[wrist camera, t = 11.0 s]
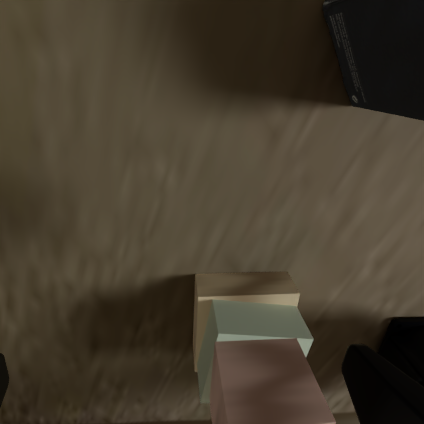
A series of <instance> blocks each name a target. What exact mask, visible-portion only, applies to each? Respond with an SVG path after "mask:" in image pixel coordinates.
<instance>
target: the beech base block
mask: <svg viewBox="0 0 424 424" xmlns="http://www.w3.org/2000/svg"><path fill="white" fill-rule="evenodd" d="M299 296H300V293H299V291H298V289H297V287H296V286H295V284H294V282H293V280H292V279H291V277H290V275H289V274H288V272H249V273H207V274H195V296H194V323H193V355H194V368H195V372H198V371H197V362H198V357H199V353H200V349H201V345H202V341H203V337H204V333H205V328H206V324H207V320H208V316H209V312H210V308H211V304H212V299H215V300H228V301H240V302H253V303H266V304H279V305H291V306H297V305H298V301H299Z"/></svg>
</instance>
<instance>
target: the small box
mask: <svg viewBox="0 0 424 424" xmlns="http://www.w3.org/2000/svg"><path fill="white" fill-rule="evenodd" d="M323 11H324V17H325V19H326V22H327V24H328V26H329V29H330V35H331V36H332V39H333V43H334V47H335V51H336V53H337V57H338V60H339V66H340V68H341V71H342V75H343V83H344V85H345V88H346V91H347V93H348V96H349V98H350V102H351V104H352V106H354V107H360V108H365V109H370V110H374V111H380V112H385V113H389V114H395V115H399V116H404V117H409V118H414V119H419V120H423V121H424V0H325V1H324V4H323Z"/></svg>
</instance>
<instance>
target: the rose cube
mask: <svg viewBox="0 0 424 424" xmlns="http://www.w3.org/2000/svg"><path fill="white" fill-rule="evenodd" d="M210 408H211V416H212V424H335V423H336V422H335V419H334V417H333V415H332V413H331V411H330V409H329V406H328V404H327V402H326V400H325V398H324V396H323V394H322V391H321V389H320V387H319V385H318V383H317V381H316V379H315V376H314V374H313V372H312V370H311V368H310V366H309V364H308V361H307V359H306V357H305V355H304V353H303V351H302V349H301V346H300V344H299V342H298V340H297V338H288V339H264V340H241V341H218V342H215V345H214V356H213V367H212V378H211V388H210Z"/></svg>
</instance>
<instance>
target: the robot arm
mask: <svg viewBox="0 0 424 424" xmlns="http://www.w3.org/2000/svg"><path fill="white" fill-rule="evenodd" d="M342 374H343V377H344V380H345V382H346V385H347V388H348V391H349V394H350V397H351V399H352V402H353V405H354V408H355V411H356V414H357V416H358V419H359V422H360V424H424V318H400V319H394V320H393V321H392V322H391V323H390V326H389V328H388V331H387V333H386V335H385V338H384V340H383V343H382V345H381V347H380V350H379V352H378V353H376V352H375V351H374V350H372V349H371V348H369V347H368V346H366V345H364V344H351V345H350V346H348V349H347V351H346V354H345V357H344V360H343V363H342ZM8 383H9V374H8V370H7V366H6V362H5V358H4V355H3V354H2V353H0V407H1V404H2V401H3V399H4V396H5V393H6V390H7V387H8Z"/></svg>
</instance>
